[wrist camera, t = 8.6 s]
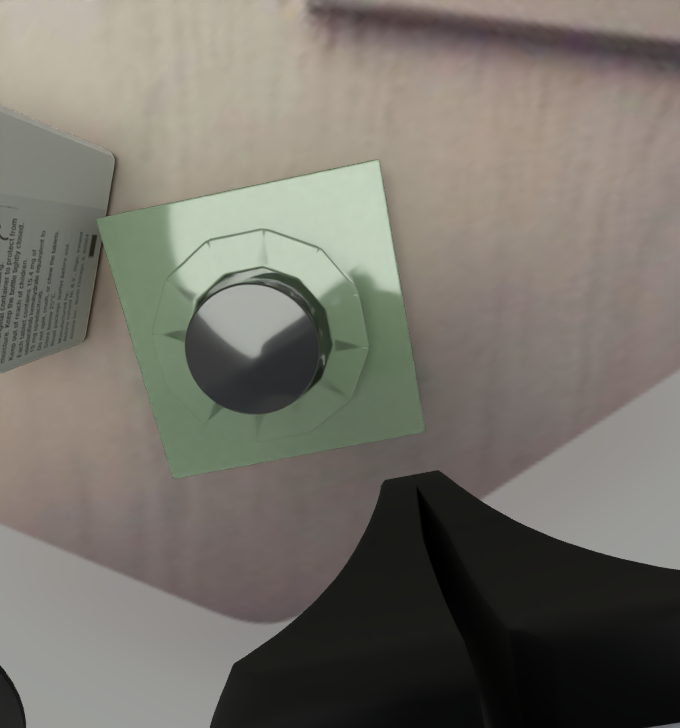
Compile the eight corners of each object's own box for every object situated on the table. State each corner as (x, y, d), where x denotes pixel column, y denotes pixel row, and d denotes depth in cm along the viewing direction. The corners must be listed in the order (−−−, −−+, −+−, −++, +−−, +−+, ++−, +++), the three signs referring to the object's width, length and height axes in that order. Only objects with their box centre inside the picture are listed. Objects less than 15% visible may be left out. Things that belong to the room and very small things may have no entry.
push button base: (416, 411, 22) (435, 453, 17) (190, 454, 22) (154, 505, 18) (374, 169, 19) (384, 147, 15) (124, 221, 20) (64, 214, 16)
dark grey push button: (332, 383, 17) (332, 402, 15) (218, 405, 17) (203, 426, 15) (308, 266, 16) (304, 269, 14) (188, 291, 16) (168, 297, 14)
